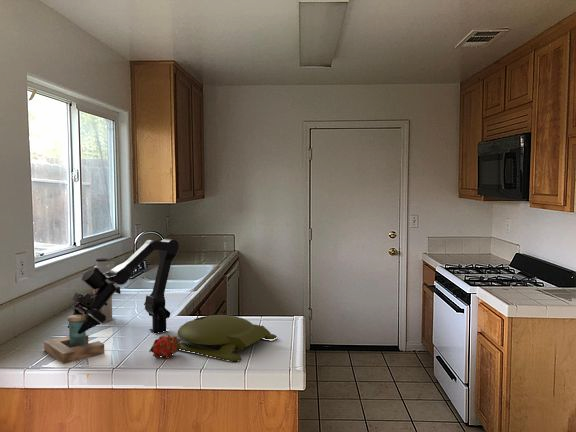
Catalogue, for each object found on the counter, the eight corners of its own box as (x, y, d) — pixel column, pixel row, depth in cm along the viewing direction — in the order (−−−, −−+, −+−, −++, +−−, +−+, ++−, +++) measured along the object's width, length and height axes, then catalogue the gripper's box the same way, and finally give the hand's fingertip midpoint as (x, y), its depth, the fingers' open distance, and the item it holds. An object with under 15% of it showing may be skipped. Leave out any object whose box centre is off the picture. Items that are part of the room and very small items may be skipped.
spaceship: (279, 339, 199) (279, 316, 199) (236, 365, 172) (236, 337, 171) (209, 327, 216) (209, 305, 215) (160, 348, 189) (160, 323, 188)
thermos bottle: (102, 322, 220) (100, 260, 218) (89, 320, 224) (88, 259, 222) (116, 318, 227) (114, 258, 225) (103, 315, 231) (102, 256, 229)
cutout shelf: (83, 341, 195) (83, 332, 195) (104, 353, 182) (104, 344, 181) (44, 350, 185) (44, 341, 184) (63, 363, 171) (63, 354, 171)
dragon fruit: (183, 357, 182) (152, 369, 175) (174, 340, 187) (143, 350, 180) (186, 344, 177) (154, 355, 170) (177, 326, 182) (145, 336, 175)
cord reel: (91, 349, 186) (90, 315, 185) (77, 355, 180) (76, 320, 179) (78, 347, 188) (77, 313, 187) (64, 352, 183) (63, 318, 182)
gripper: (76, 280, 192) (47, 313, 185) (97, 288, 178) (66, 324, 172) (96, 296, 198) (69, 329, 191) (118, 305, 185) (89, 341, 178)
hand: (73, 330), depth 183 cm, fingers open, 9 cm apart
